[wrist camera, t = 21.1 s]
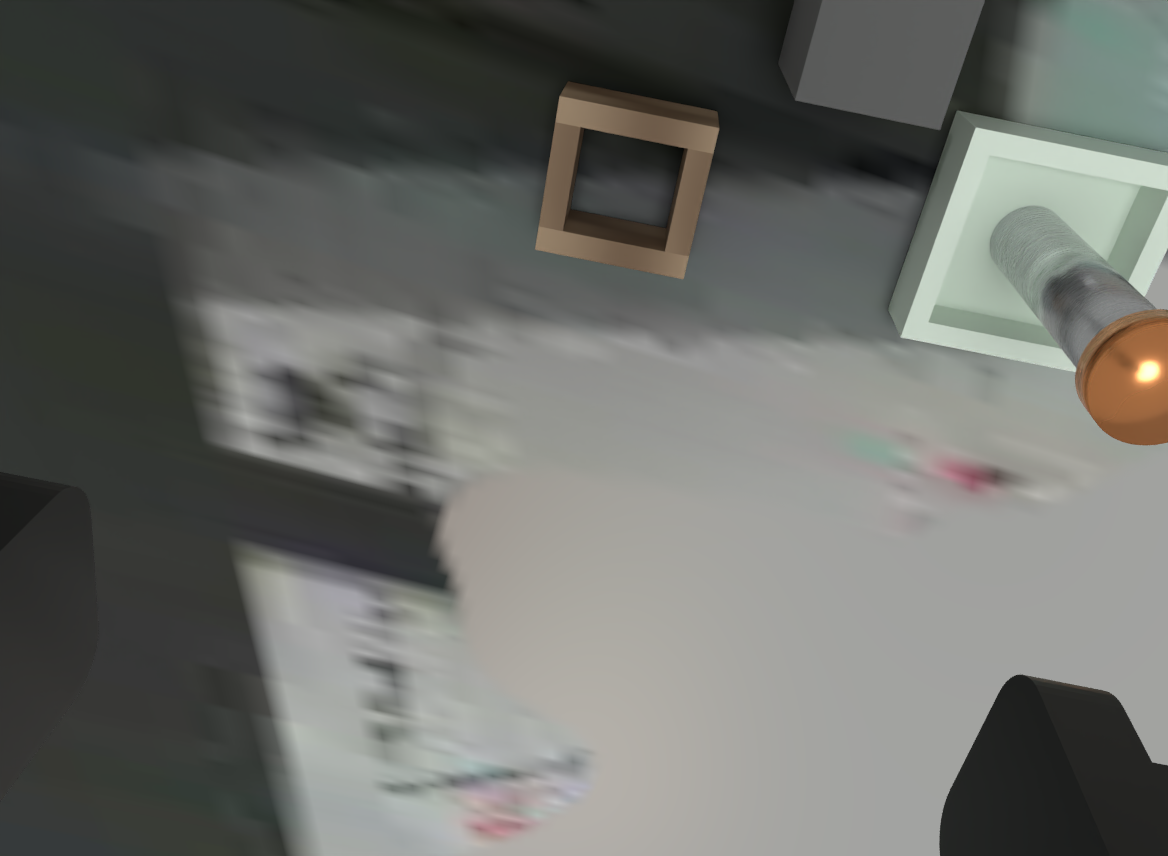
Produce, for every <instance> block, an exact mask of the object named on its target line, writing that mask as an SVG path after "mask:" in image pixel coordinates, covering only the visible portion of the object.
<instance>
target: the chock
mask: <svg viewBox="0 0 1168 856" xmlns="http://www.w3.org/2000/svg"><path fill="white" fill-rule="evenodd" d="M984 1H985V0H794V4H793V8H792V12H791V16H790V19H789V23H788V27H787V31H786V35H785V39H784V42H783V46H782V50H781V54H780V58H779V61H778V65H779V67H780V69H781V71H782V73H783V76H784V78H785V80H786V82H787V84H788V86H789V88H790V91H791V93H792V95H793V97H794V99H795V100H796V101H801V102H806V103H811V104H815V105H820V106H825V107H830V108H835V109H840V110H845V111H849V112H854V113H859V114H864V115H869V116H874V117H879V118H883V119H888V120H893V121H898V122H903V123H908V124H913V125H917V126H922V127H927V128H932V129H937V130H940V128H941V126H942V123H943V120H944V117H945V114H946V111H947V108H948V105H949V102H950V100H951V97H952V94H953V91H954V88H955V85H956V82H957V79H958V76H959V74H960V71H961V68H962V65H963V62H964V59H965V56H966V53H967V51H968V48H969V45H970V42H971V39H972V36H973V33H974V30H975V27H976V25H977V22H978V19H979V16H980V13H981V10H982V7H983V4H984Z"/></svg>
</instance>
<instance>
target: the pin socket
mask: <svg viewBox="0 0 1168 856" xmlns="http://www.w3.org/2000/svg"><path fill="white" fill-rule="evenodd" d="M584 128H587V129H592V130H597V131H602V132H607V133H612V134H617V135H622V136H627V137H632V138H637V139H642V140H647V141H652V142H657V143H662V144H667V145H672V146H677V147H682V148H684V151H683V156H682V160H681V165H680V169H679V174H678V178H677V182H676V187H675V191H674V196H673V200H672V205H671V209H670V214H669V218H668V223H667V227H666V228H662V227H657V226H652V225H647V224H642V223H637V222H632V221H627V220H622V219H617V218H612V217H607V216H602V215H597V214H592V213H587V212H582V211H577V210H572V209H571V203H572V197H573V191H574V186H575V180H576V174H577V168H578V163H579V157H580V151H581V146H582V140H583V134H584ZM718 132H719V121H718V113H717V111H713V110H708V109H703V108H698V107H693V106H688V105H683V104H678V103H673V102H668V101H663V100H658V99H653V98H648V97H643V96H639V95H634V94H629V93H624V92H619V91H614V90H609V89H604V88H599V87H594V86H589V85H584V84H579V83H574V82H569V81H568V82H567V84H566V86H565V87H564V89H563V91H562V93H561V94H560V97H559V103H558V109H557V116H556V122H555V128H554V134H553V141H552V147H551V153H550V159H549V165H548V172H547V178H546V184H545V190H544V197H543V203H542V209H541V215H540V222H539V228H538V234H537V240H536V247H535V250H540V251H545V252H550V253H555V254H560V255H565V256H570V257H575V258H580V259H585V260H590V261H595V262H600V263H605V264H610V265H615V266H620V267H625V268H630V269H635V270H640V271H645V272H650V273H655V274H660V275H665V276H670V277H675V278H680V279H684V275H685V271H686V266H687V262H688V258H689V254H690V250H691V245H692V241H693V237H694V233H695V229H696V224H697V220H698V216H699V212H700V208H701V203H702V199H703V195H704V191H705V187H706V182H707V178H708V174H709V170H710V166H711V161H712V157H713V153H714V149H715V145H716V140H717V136H718Z"/></svg>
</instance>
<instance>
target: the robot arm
mask: <svg viewBox="0 0 1168 856" xmlns="http://www.w3.org/2000/svg"><path fill="white" fill-rule="evenodd" d="M98 635H99V618H98V604H97V590H96V576H95V562H94V548H93V533H92V519H91V509H90V504H89V500H88V498H87V496H86V494H85V492H84V491H83V490H82V489H80V488H78V487H74V486H69V485H64V484H59V483H54V482H49V481H44V480H39V479H33V478H28V477H23V476H18V475H13V474H8V473H3V472H0V802H1V800H2V799H3V798H4V796H5V795H6V794H7V792H8V791H9V790H10V788H11V787H12V785H13V784H14V783H15V781H16V780H17V779H18V777H19V776H20V774H21V773H22V772H23V770H24V769H25V768H26V766H27V765H28V764H29V762H30V761H31V759H32V758H33V757H34V755H35V754H36V753H37V751H38V750H39V749H40V747H41V746H42V744H43V743H44V742H45V740H46V739H47V738H48V736H49V735H50V734H51V732H52V731H53V729H54V728H55V727H56V725H57V724H58V723H59V721H60V720H61V719H62V717H63V716H64V714H65V713H66V712H67V710H68V709H69V708H70V706H71V705H72V704H73V702H74V701H75V699H76V698H77V696H78V695H79V693H80V691H81V689H82V687H83V686H84V683H85V681H86V679H87V677H88V674H89V672H90V669H91V667H92V663H93V660H94V657H95V653H96V648H97V643H98ZM940 856H1168V766H1167V765H1162V764H1157V763H1152V761H1151V760H1150V758H1149V756H1148V754H1147V752H1146V750H1145V748H1144V746H1143V744H1142V742H1141V740H1140V738H1139V737H1138V735H1137V733H1136V731H1135V729H1134V727H1133V725H1132V723H1131V721H1130V719H1129V717H1128V716H1127V714H1126V712H1125V710H1124V708H1123V706H1122V705H1121V703H1120V702H1119V700H1118V699H1117V698H1116V697H1115V696H1114V695H1112V694H1110V693H1109V692H1106V691H1103V690H1098V689H1093V688H1087V687H1082V686H1077V685H1072V684H1067V683H1062V682H1056V681H1052V680H1047V679H1041V678H1036V677H1031V676H1025V675H1016V676H1014V677H1012V678H1010V679H1009V680H1008V681H1007V682H1006V683H1005V684H1004V686H1003V687H1002V689H1001V690H1000V692H999V694H998V696H997V698H996V700H995V702H994V704H993V706H992V708H991V710H990V712H989V714H988V716H987V718H986V720H985V722H984V724H983V726H982V728H981V730H980V732H979V734H978V736H977V738H976V740H975V742H974V744H973V746H972V748H971V750H970V752H969V753H968V756H967V757H966V759H965V762H964V764H963V765H962V767H961V769H960V772H959V773H958V775H957V778H956V780H955V781H954V783H953V786H952V787H951V789H950V792H949V794H948V796H947V799H946V802H945V805H944V809H943V813H942V819H941V825H940Z"/></svg>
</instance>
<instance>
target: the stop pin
mask: <svg viewBox="0 0 1168 856" xmlns="http://www.w3.org/2000/svg"><path fill="white" fill-rule="evenodd" d="M990 253H991V257H992V259H993V261H994V262H995V264H996V265H997V266H998V268H999V269H1000V270H1001V271H1002V273H1003V274H1004V275H1005V277H1006V278H1007V279H1008V281H1009V282H1010V283H1011V284H1012V286H1013V287H1014V288H1015V290H1016V291H1017V292H1018V293H1019V295H1020V296H1021V297H1022V299H1023V300H1024V301H1025V303H1026V304H1027V305H1028V306H1029V308H1030V309H1031V310H1032V312H1033V313H1034V314H1035V315H1036V317H1037V318H1038V319H1039V321H1040V322H1041V323H1042V325H1043V326H1044V327H1045V328H1046V330H1047V331H1048V332H1049V334H1050V335H1051V336H1052V337H1053V339H1054V340H1055V341H1056V343H1057V344H1058V345H1059V347H1060V348H1061V349H1062V350H1063V352H1064V353H1065V354H1066V356H1067V357H1068V358H1069V359H1070V361H1071V362H1072V363H1073V365H1074V366H1075V367H1076V375H1075V384H1076V390H1077V394H1078V396H1079V399H1080V401H1081V402H1082V404H1083V405H1084V407H1085V408H1086V409H1087V411H1088V412H1089V414H1090V415H1091V416H1092V418H1093V419H1094V420H1095V422H1096V423H1097V424H1098V426H1099V427H1100V428H1101V429H1102V430H1103V431H1104V432H1106V433H1107V434H1108V435H1110V436H1111V437H1113V438H1115V439H1117V440H1120V441H1122V442H1125V443H1129V444H1135V445H1157V444H1162V443H1167V442H1168V310H1164V309H1163V310H1161V309H1156V308H1155V307H1154V306H1153V305H1152V304H1151V303H1150V302H1149V301H1148V300H1147V299H1146V298H1145V297H1144V296H1143V295H1142V294H1141V293H1139V292H1138V291H1137V290H1136V289H1135V288H1134V287H1133V286H1132V285H1131V284H1130V283H1129V282H1128V281H1127V280H1126V279H1125V278H1124V277H1123V276H1121V275H1120V274H1119V273H1118V272H1117V271H1116V270H1115V269H1114V268H1113V267H1112V266H1111V265H1110V264H1109V263H1108V262H1107V261H1106V260H1105V259H1104V258H1102V257H1101V256H1100V255H1099V254H1098V253H1097V252H1096V251H1095V250H1094V249H1093V248H1092V247H1091V246H1090V245H1089V244H1088V243H1087V242H1086V241H1084V240H1083V239H1082V238H1081V237H1080V236H1079V235H1078V234H1077V233H1076V232H1075V231H1074V230H1073V229H1072V228H1071V227H1070V226H1069V225H1068V224H1066V223H1065V222H1064V221H1063V220H1062V219H1061V218H1060V217H1059V216H1058V215H1057V214H1056V213H1055V212H1053V211H1052V210H1050V209H1048V208H1045V207H1042V206H1025V207H1021V208H1018V209H1016V210H1014V211H1012V212H1010V213H1009V214H1007V215H1006V216H1005V217H1003V218H1002V219H1001V220H1000V222H999V223H998V224H997V225H996V227H995V229H994V230H993V233H992V235H991V238H990Z"/></svg>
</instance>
